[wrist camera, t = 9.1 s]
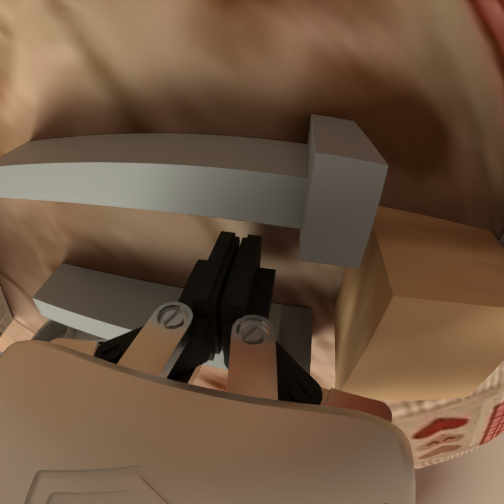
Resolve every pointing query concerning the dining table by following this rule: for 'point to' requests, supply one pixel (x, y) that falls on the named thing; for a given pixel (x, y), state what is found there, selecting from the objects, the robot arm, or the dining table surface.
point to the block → (420, 310)
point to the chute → (203, 208)
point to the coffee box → (4, 313)
